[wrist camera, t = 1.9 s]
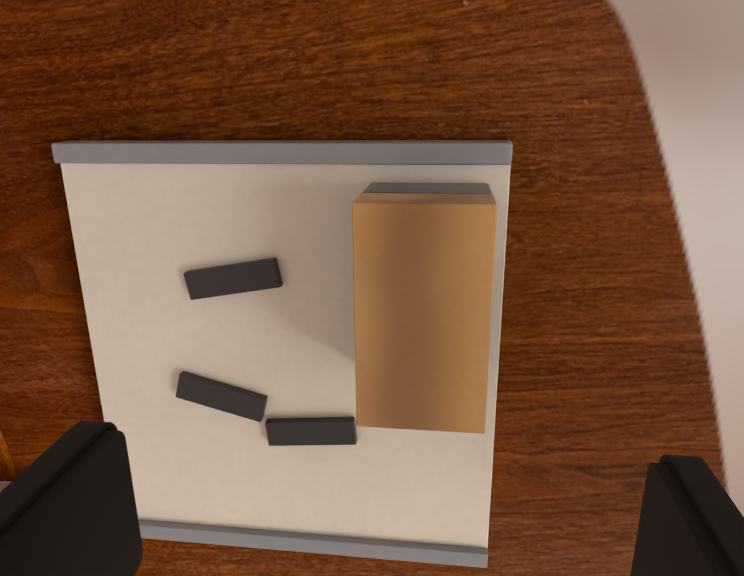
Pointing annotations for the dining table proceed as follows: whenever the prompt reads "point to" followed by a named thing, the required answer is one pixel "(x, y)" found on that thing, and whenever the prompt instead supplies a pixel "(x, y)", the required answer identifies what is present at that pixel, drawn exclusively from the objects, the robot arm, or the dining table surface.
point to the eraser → (423, 304)
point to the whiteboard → (268, 343)
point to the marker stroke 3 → (311, 431)
